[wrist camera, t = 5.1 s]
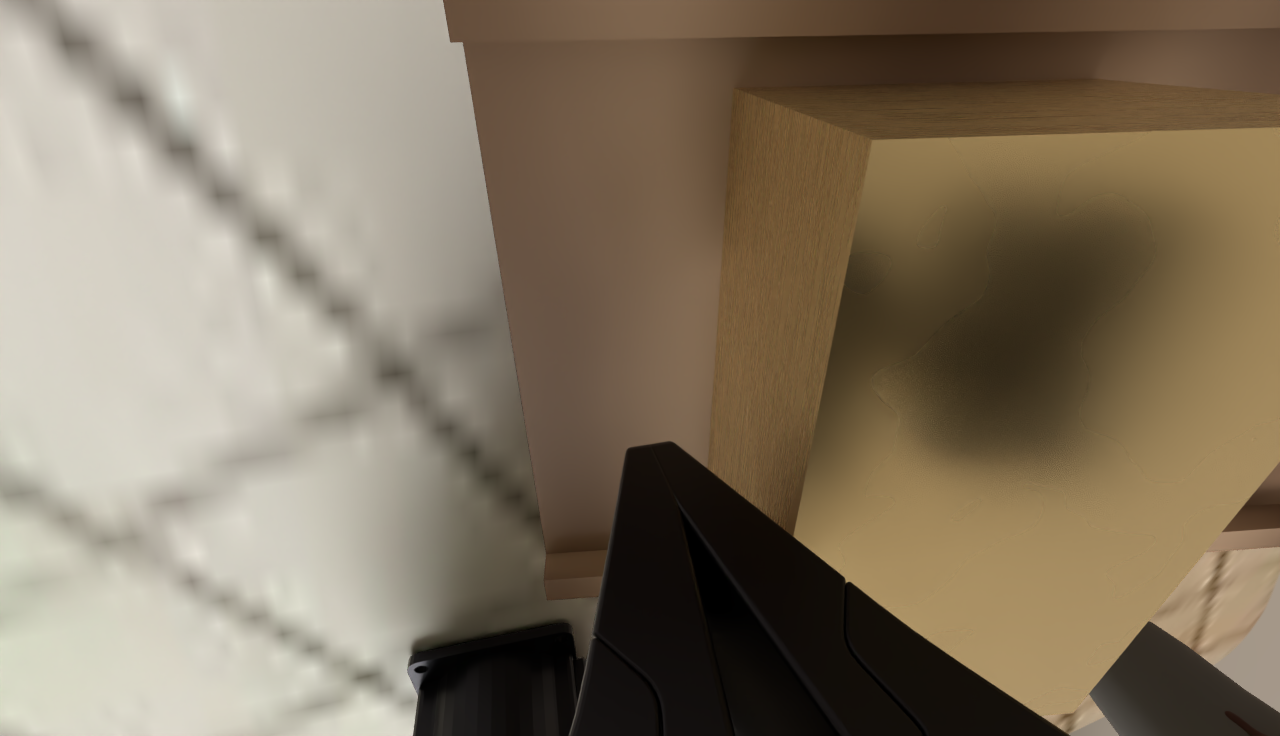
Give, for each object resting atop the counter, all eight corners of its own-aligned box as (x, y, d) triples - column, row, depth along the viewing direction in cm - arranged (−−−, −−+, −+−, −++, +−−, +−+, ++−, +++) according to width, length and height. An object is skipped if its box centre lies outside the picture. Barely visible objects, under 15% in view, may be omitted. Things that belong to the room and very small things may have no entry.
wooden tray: (556, 532, 17) (546, 664, 13) (471, -74, 9) (390, -144, 5) (1334, 480, 18) (1511, 587, 14) (1852, -82, 10) (2501, -143, 7)
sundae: (1101, 499, 26) (1634, 909, 14) (1066, 579, 30) (1463, 961, 18) (980, 538, 26) (1422, 1001, 13) (960, 615, 30) (1291, 1034, 17)
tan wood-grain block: (703, 524, 14) (752, 742, 10) (732, 88, 8) (871, 139, 4) (928, 508, 14) (1072, 712, 10) (1094, 78, 9) (1560, 119, 5)
